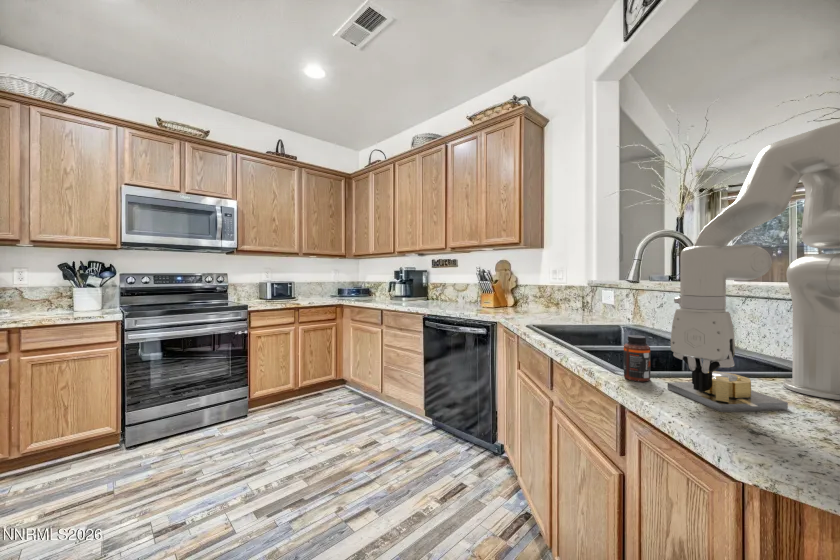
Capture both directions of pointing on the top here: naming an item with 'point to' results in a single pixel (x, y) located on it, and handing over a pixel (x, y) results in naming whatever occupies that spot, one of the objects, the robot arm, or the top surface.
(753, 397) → the spindle plate
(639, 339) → the supplement bottle
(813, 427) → the top surface
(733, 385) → the segmented octagonal ring
